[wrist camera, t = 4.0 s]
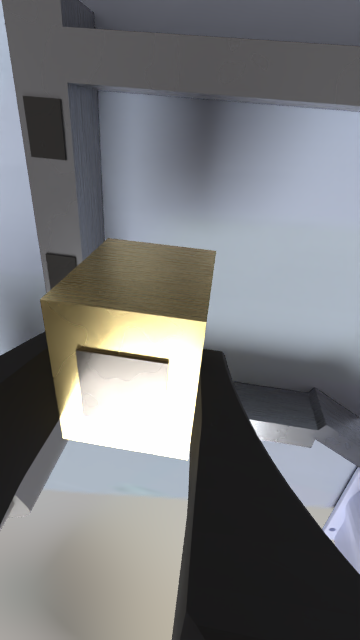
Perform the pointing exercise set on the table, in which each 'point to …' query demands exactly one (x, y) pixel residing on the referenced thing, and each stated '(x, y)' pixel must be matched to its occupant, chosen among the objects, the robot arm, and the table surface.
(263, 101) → the grey square frame
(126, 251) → the brass cube with recess
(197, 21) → the table surface
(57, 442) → the power adapter
